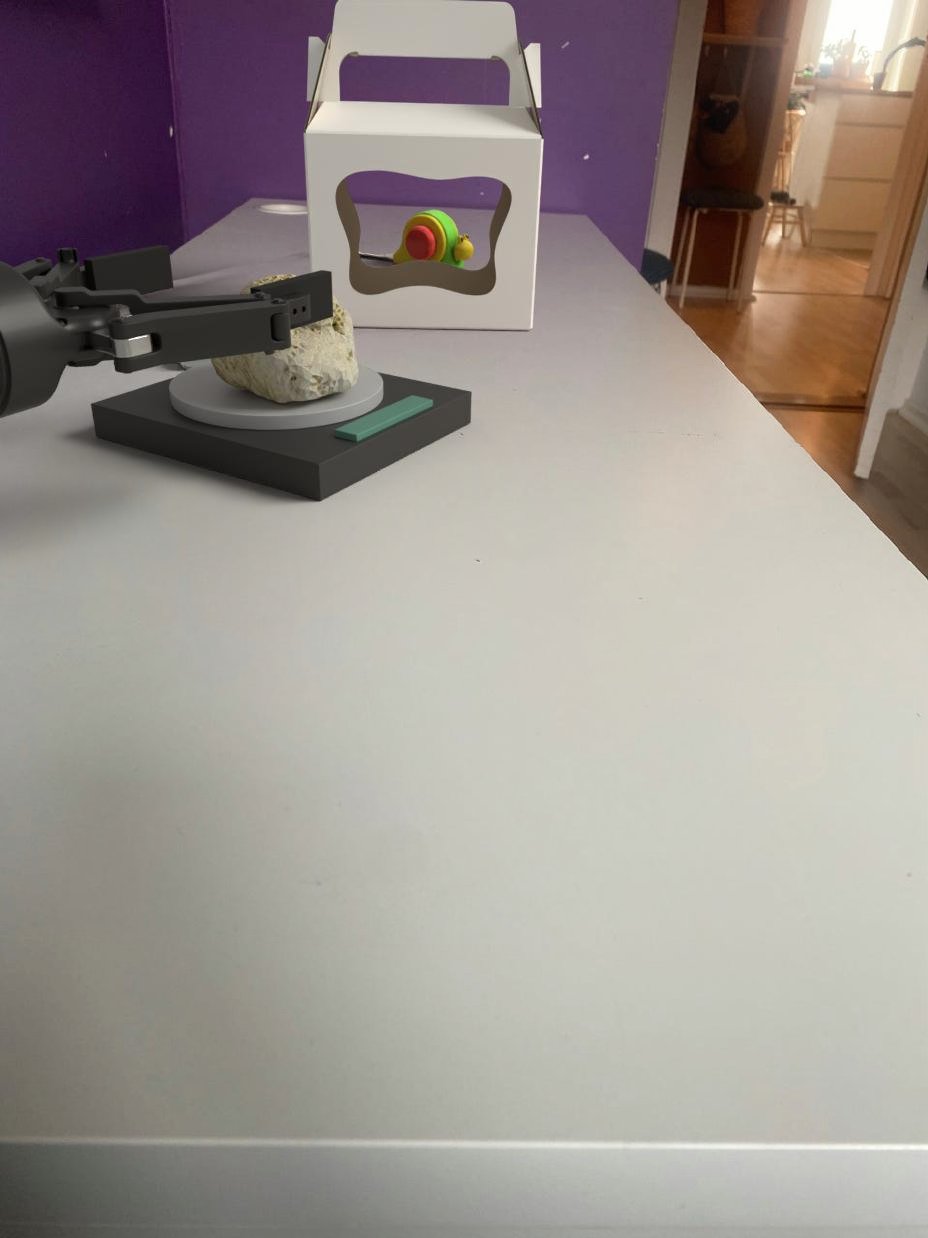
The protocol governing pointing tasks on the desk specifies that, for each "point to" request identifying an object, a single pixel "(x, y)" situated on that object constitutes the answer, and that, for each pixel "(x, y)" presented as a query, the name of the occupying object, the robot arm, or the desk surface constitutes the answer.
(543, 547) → the desk surface
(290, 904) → the desk surface
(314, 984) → the desk surface
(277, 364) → the decorative item
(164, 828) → the desk surface
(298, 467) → the scale
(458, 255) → the toy measuring tape
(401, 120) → the gable box
